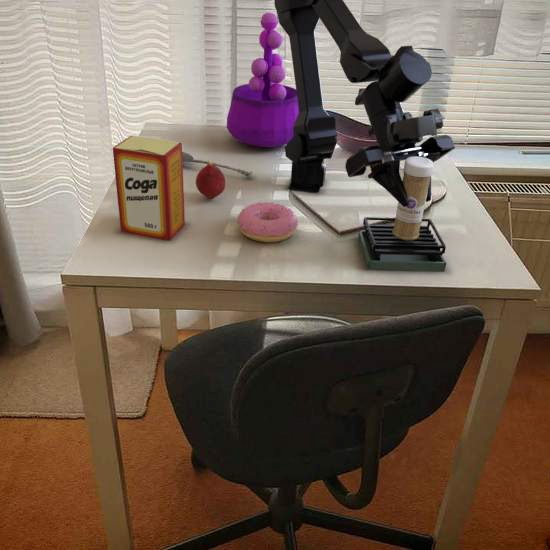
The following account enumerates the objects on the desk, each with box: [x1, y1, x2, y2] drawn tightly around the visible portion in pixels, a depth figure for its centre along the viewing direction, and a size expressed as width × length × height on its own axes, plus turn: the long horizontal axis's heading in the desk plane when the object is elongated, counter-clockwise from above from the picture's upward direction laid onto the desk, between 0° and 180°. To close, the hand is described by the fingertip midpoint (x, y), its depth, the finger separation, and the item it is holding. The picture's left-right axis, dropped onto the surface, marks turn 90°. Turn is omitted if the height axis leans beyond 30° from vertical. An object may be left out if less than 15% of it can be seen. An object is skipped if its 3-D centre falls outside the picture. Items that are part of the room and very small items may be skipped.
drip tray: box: [357, 229, 447, 272], centre depth 106 cm, size 13×11×2 cm
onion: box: [195, 160, 227, 201], centre depth 119 cm, size 6×6×8 cm
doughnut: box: [236, 201, 299, 243], centre depth 110 cm, size 11×11×4 cm
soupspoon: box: [182, 151, 253, 180], centre depth 134 cm, size 22×3×7 cm
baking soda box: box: [112, 135, 186, 241], centre depth 106 cm, size 10×6×16 cm
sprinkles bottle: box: [392, 156, 435, 241], centre depth 100 cm, size 5×5×14 cm
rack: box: [362, 216, 447, 262], centre depth 105 cm, size 12×10×4 cm
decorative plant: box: [226, 11, 299, 148], centre depth 143 cm, size 19×19×30 cm
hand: (417, 203), depth 99 cm, fingers closed on sprinkles bottle, 4 cm apart
